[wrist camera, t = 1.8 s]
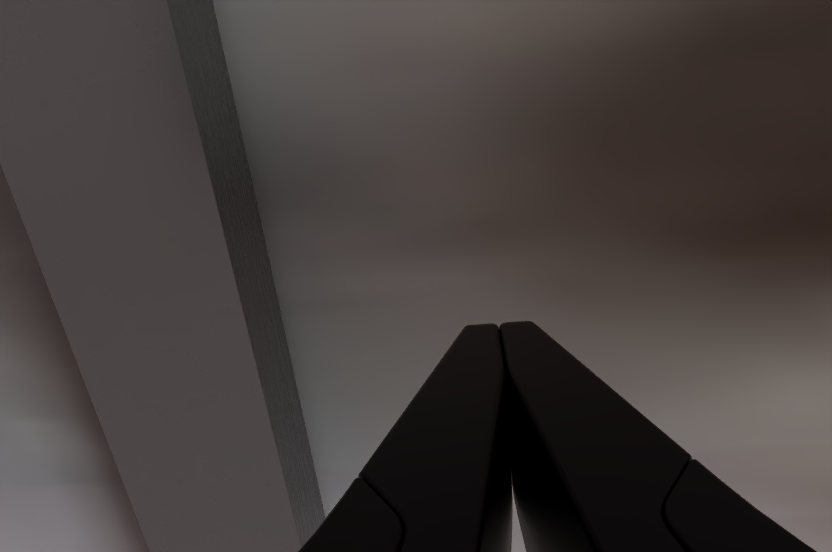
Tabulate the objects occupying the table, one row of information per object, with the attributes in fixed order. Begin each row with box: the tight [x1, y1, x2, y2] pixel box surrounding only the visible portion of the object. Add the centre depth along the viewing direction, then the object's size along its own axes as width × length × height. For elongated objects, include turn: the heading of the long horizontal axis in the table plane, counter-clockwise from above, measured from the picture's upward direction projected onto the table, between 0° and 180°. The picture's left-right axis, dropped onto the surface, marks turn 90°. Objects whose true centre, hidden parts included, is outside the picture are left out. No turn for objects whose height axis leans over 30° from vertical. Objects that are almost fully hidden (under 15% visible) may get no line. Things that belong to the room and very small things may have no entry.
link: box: [0, 0, 325, 552], centre depth 16 cm, size 24×6×3 cm, turn 6°
